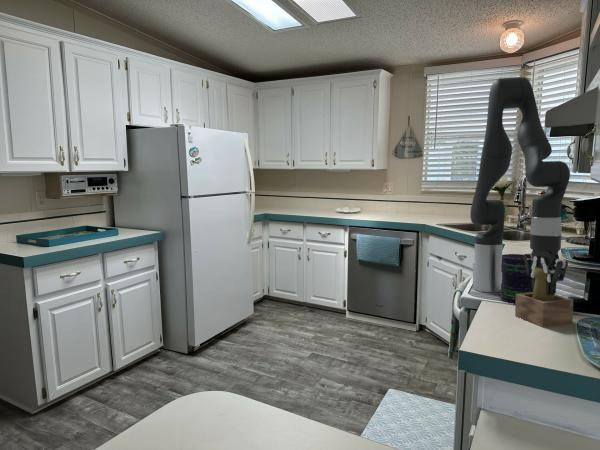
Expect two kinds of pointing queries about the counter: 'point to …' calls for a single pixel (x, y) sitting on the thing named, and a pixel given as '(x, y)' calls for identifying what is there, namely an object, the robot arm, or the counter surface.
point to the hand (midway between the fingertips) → (543, 292)
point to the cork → (541, 286)
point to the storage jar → (514, 277)
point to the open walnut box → (544, 310)
